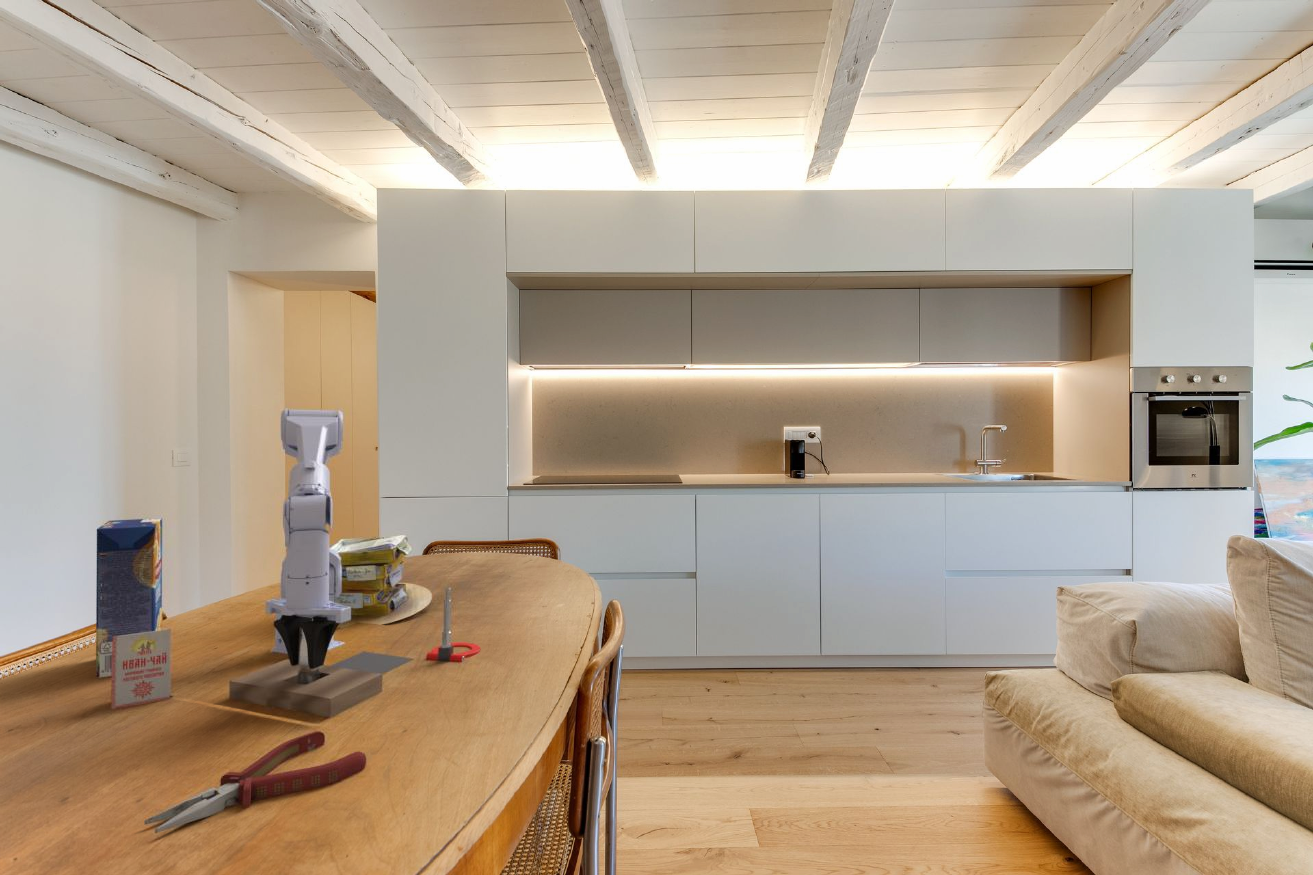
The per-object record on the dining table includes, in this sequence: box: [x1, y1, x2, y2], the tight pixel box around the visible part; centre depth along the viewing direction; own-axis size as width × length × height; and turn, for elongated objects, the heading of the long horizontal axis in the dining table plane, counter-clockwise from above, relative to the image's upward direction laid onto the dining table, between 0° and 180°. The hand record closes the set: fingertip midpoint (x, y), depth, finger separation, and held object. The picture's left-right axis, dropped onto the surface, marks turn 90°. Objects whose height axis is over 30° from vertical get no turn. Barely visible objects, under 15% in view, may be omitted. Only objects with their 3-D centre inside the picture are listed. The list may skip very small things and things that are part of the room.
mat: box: [329, 651, 414, 675], centre depth 111 cm, size 11×11×1 cm
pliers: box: [144, 730, 367, 834], centre depth 73 cm, size 12×20×3 cm, turn 145°
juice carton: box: [95, 517, 163, 679], centre depth 113 cm, size 12×8×24 cm, turn 32°
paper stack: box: [329, 534, 433, 629], centre depth 146 cm, size 25×25×17 cm
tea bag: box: [110, 628, 172, 710], centre depth 97 cm, size 4×7×10 cm, turn 126°
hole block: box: [228, 658, 383, 719], centre depth 99 cm, size 19×10×3 cm, turn 71°
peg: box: [297, 626, 320, 685], centre depth 99 cm, size 3×3×9 cm
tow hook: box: [425, 587, 481, 663], centre depth 119 cm, size 8×13×9 cm
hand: (307, 665), depth 99 cm, fingers closed on peg, 3 cm apart
